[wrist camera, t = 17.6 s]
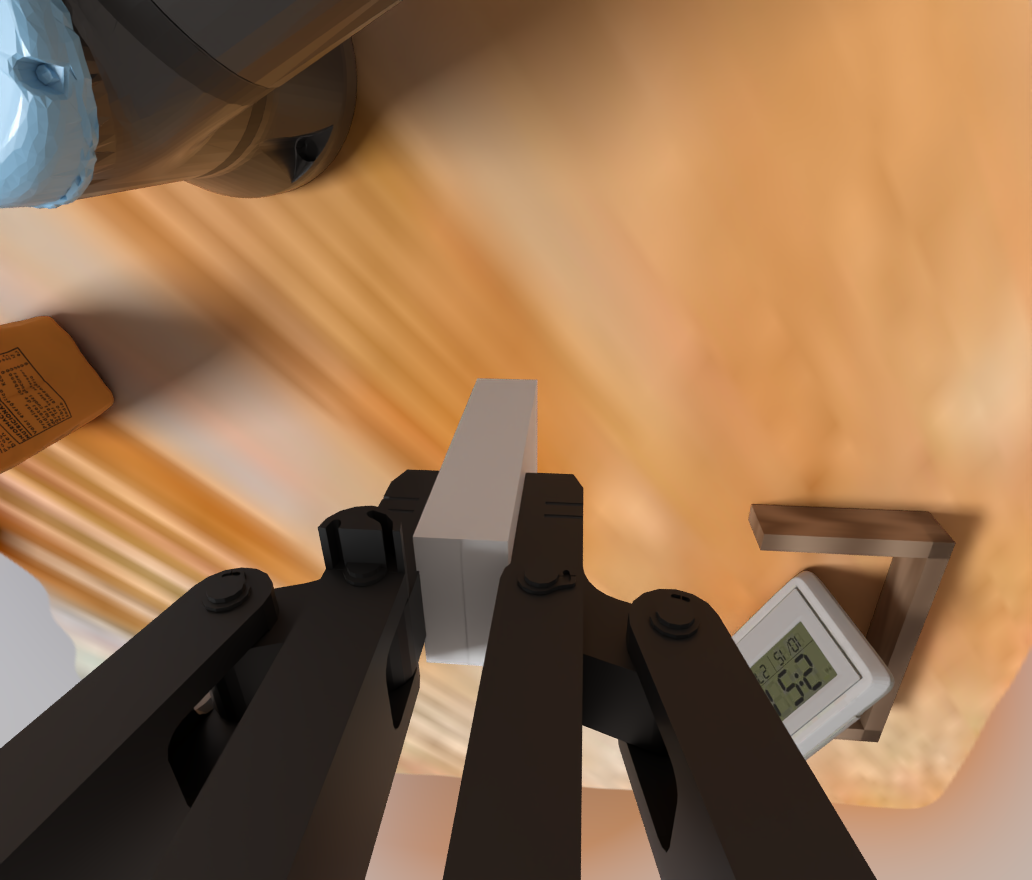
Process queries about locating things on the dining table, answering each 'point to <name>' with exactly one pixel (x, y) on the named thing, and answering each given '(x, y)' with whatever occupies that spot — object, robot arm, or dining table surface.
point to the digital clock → (812, 662)
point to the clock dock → (906, 587)
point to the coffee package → (43, 389)
